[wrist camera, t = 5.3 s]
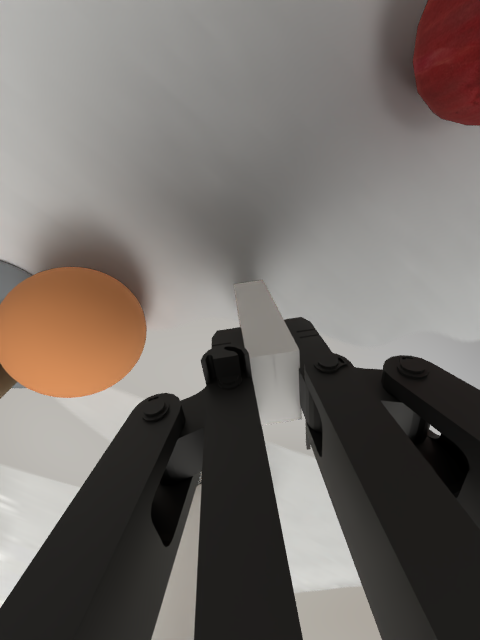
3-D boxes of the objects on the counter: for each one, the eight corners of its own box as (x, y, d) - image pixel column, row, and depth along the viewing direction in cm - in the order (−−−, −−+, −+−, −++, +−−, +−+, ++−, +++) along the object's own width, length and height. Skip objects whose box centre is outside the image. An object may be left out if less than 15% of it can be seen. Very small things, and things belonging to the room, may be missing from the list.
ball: (-51, 363, 11) (70, 312, 17) (57, 450, 11) (145, 372, 17) (-51, 250, 8) (96, 232, 14) (95, 368, 8) (187, 305, 14)
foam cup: (257, 459, 22) (301, 758, 10) (275, 517, 26) (322, 779, 15) (148, 484, 22) (74, 801, 11) (183, 538, 27) (158, 809, 15)
